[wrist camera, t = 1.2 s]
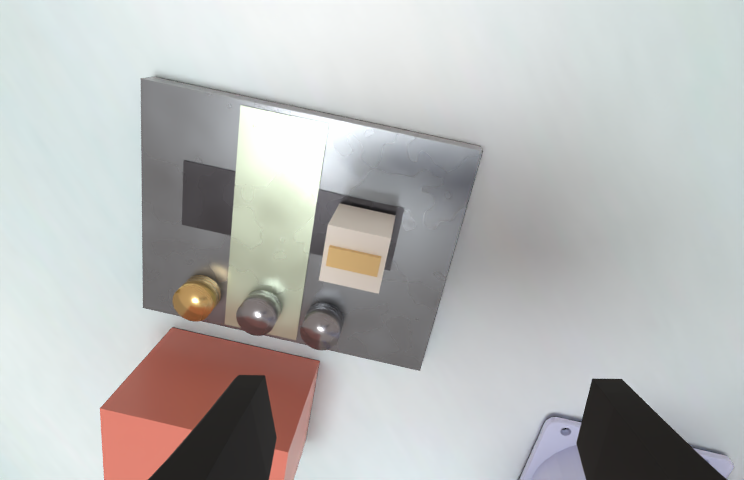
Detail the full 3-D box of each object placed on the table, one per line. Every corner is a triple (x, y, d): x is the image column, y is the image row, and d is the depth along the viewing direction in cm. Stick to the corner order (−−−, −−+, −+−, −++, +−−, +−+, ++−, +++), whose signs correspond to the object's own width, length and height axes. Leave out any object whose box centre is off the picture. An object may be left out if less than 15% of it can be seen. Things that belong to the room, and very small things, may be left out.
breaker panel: (480, 145, 20) (486, 158, 18) (420, 358, 24) (419, 387, 22) (153, 76, 20) (123, 81, 18) (153, 297, 25) (129, 320, 23)
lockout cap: (319, 361, 25) (288, 452, 19) (305, 441, 27) (273, 543, 22) (172, 327, 25) (99, 408, 20) (170, 410, 28) (105, 503, 22)
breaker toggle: (395, 215, 20) (390, 240, 17) (384, 265, 21) (377, 296, 18) (339, 203, 20) (326, 226, 18) (331, 253, 21) (317, 282, 19)
